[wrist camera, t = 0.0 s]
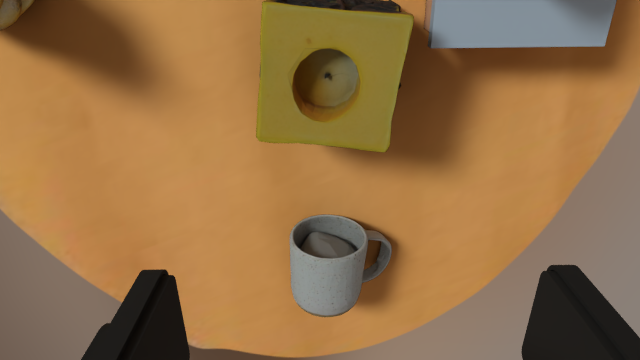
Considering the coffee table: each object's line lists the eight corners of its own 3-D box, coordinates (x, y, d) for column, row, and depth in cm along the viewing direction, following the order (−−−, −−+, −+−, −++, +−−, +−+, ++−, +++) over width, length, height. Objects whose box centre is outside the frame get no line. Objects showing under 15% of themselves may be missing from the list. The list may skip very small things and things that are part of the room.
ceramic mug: (292, 276, 50) (289, 326, 43) (291, 213, 46) (288, 256, 39) (386, 275, 50) (398, 325, 43) (392, 213, 46) (406, 256, 39)
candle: (395, 0, 37) (420, 10, 28) (376, 115, 42) (392, 155, 33) (274, -13, 37) (260, -7, 28) (268, 104, 41) (254, 143, 32)
